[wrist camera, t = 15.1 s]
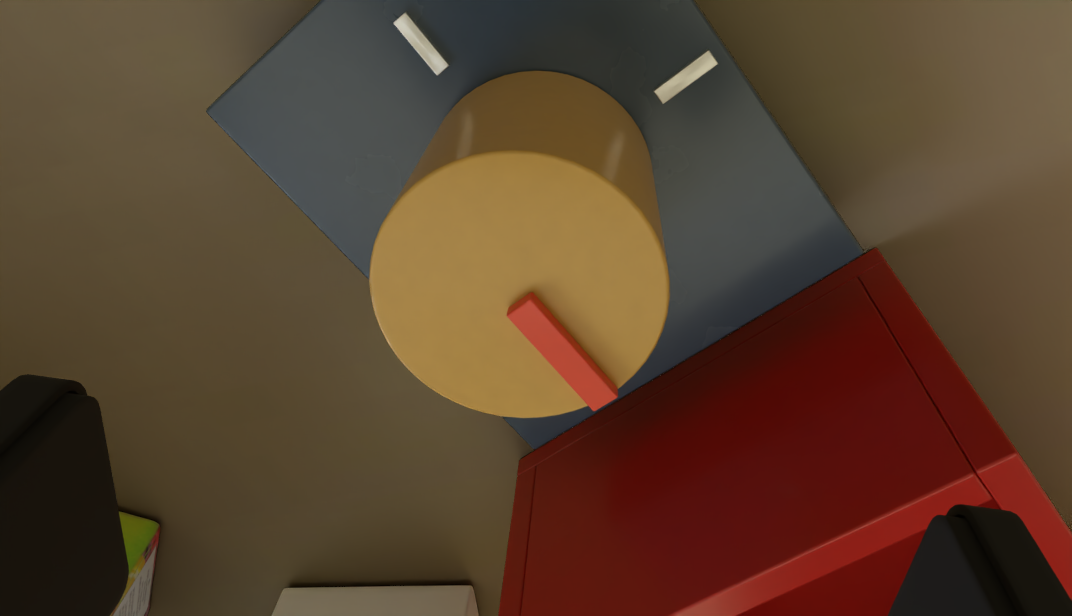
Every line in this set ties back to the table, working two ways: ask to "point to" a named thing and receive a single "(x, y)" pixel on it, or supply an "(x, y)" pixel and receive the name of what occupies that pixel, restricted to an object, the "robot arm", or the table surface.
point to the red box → (771, 471)
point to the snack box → (138, 564)
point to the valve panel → (569, 48)
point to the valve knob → (526, 251)
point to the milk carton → (378, 601)
